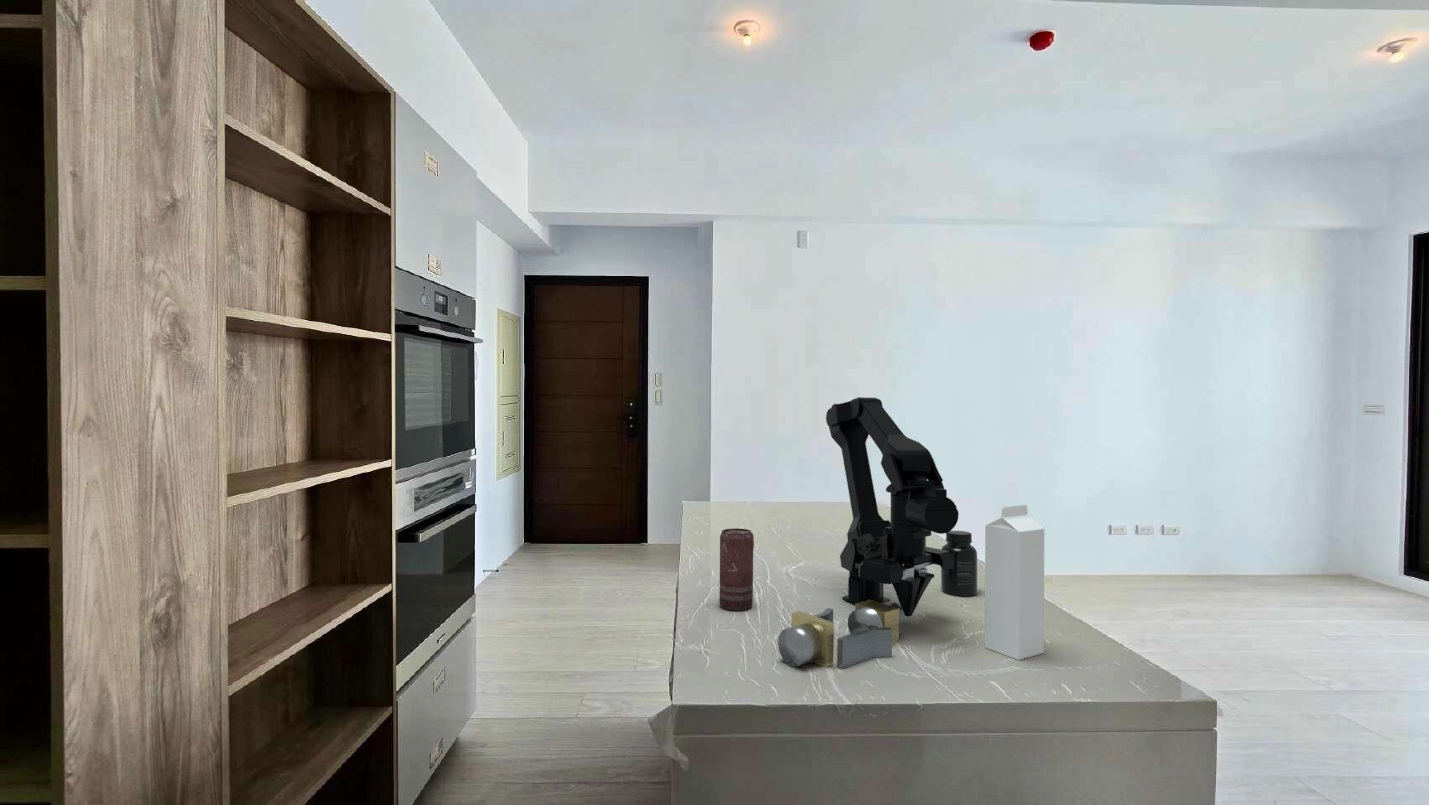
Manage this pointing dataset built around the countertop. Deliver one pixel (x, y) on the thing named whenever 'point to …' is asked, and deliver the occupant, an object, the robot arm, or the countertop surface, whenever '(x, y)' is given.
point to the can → (736, 569)
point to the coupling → (830, 642)
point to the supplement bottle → (960, 565)
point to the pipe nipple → (877, 617)
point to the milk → (1014, 584)
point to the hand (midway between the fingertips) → (907, 615)
